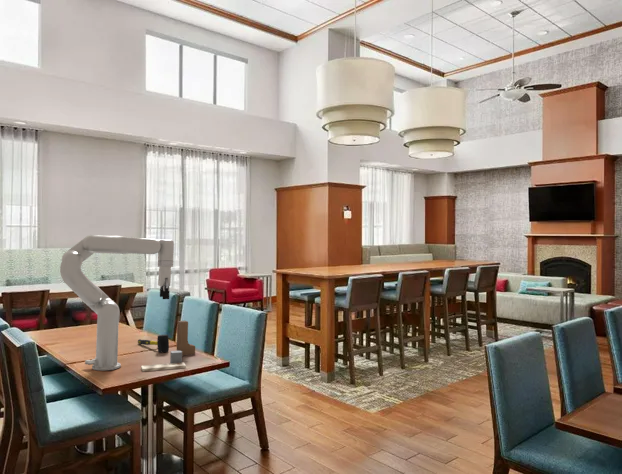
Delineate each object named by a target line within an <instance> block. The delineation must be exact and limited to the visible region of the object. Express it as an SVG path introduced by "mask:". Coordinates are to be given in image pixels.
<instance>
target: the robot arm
mask: <svg viewBox="0 0 622 474" xmlns="http://www.w3.org/2000/svg"><path fill="white" fill-rule="evenodd" d="M174 245H175V241H174V240H173V239H165V238H164V239H157V238H156V239H155V238H143V237H141V238H140V237H129V236H122V235H102V234H89V235H87V236H85V237H83V239H81V240H80V241H79V242H77V243H76V244H75V245H73V246H72V247H71V248H69V249H68V250H66V252H65V253H63V255H62V256H61V263H60V266H59V272H60V273H59V274H60V276H61V279H62V281H63V283H64V284H65V285H66V286H67V287H68V288H69V289H70V290H71V291H72V292H73V293H74V294H75V295H76V296H77V297H78V298H79V299H80V300H81V301H82V303H84V304H86V306H87V307H89V309H91V311H93V312H94V313H95V314H96V315H97V319H96V343H95V345H96V346H95V348H96V349H95V352H96V353H95V356H94V358H92V359H86V360H84V361H85V362H84V365H89V366H90V365H92V366H91V368H92V370H94V371H102V372H105V371H113V370H117V369H120V368H121V366H122V364H121V363H120V362H118V357H119V356H118V354H119V353H118V352H119V351H118V349H119V327H120V326H119V325H120V323H119V322H120V317H121V315H120V314H121V312H120V307H119V305H118V304H117V303H116V302H115V301H114V300H112V299H111V298H110V297H109V295H108V294H106V293H105V292H104V291H103V290H102V289H101V288H100V287H99V286H98V285H97V284H95V283H94V282H93V281H92V280H90V279H89V278H88V277H87V276H86V274H84V272H83V271H82V264H83V262H85V261H86V260H88V258H90V257H91V256H93V255H94V254H114V255H117V254H119V255H125V254H126V255H128V254H132V255H133V254H136V255H137V254H139V255H156V254H157V267H158V279H157V285H158V286H159V288H160V289H159V297H160V298H162V300H169V299H170V292H171V291H170V286H171V281H172V279H171V278H172V268H173V267H174V251H175V250H174V248H175V247H174Z"/></svg>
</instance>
